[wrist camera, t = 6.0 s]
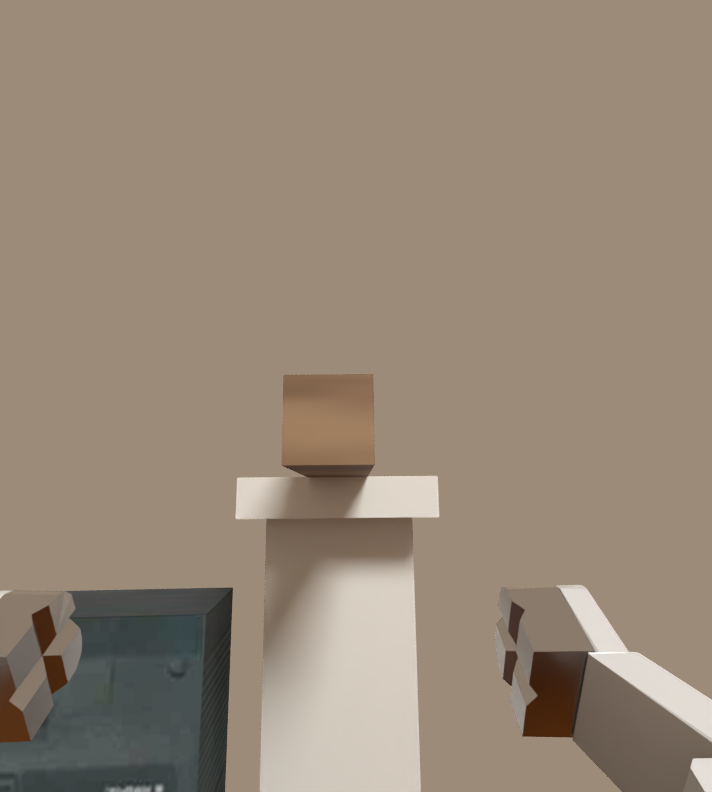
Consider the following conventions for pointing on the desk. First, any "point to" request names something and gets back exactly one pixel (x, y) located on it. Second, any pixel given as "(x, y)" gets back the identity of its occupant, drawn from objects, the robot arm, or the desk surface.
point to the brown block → (328, 425)
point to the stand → (339, 630)
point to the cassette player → (136, 699)
